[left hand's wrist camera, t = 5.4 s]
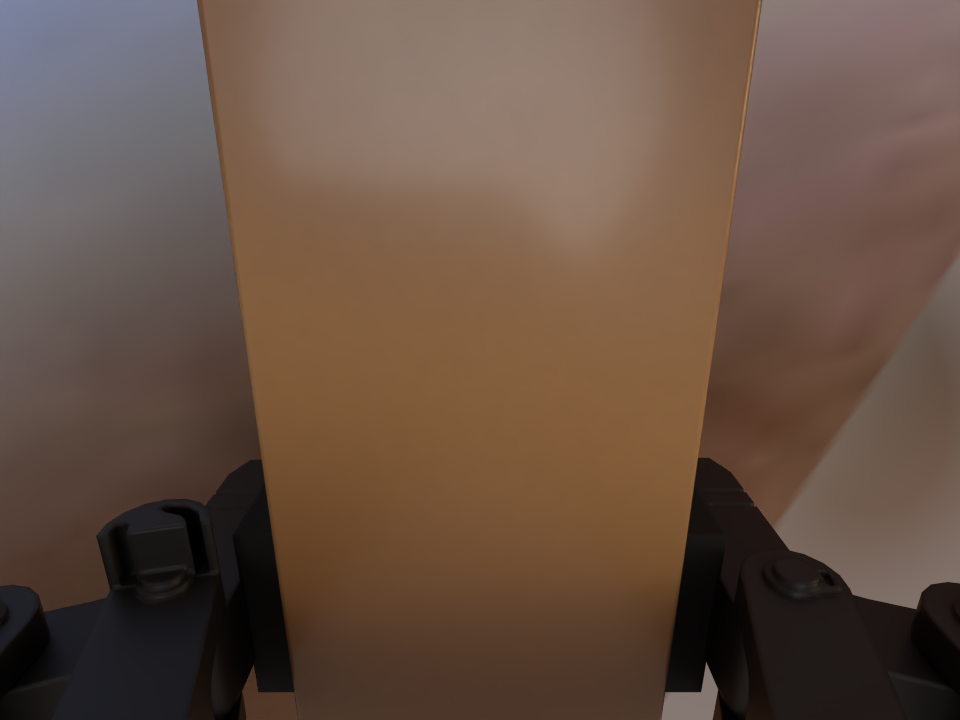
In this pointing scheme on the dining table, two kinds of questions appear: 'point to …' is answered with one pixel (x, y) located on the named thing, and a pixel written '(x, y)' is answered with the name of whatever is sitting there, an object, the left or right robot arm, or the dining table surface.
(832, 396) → the dining table surface
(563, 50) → the post
